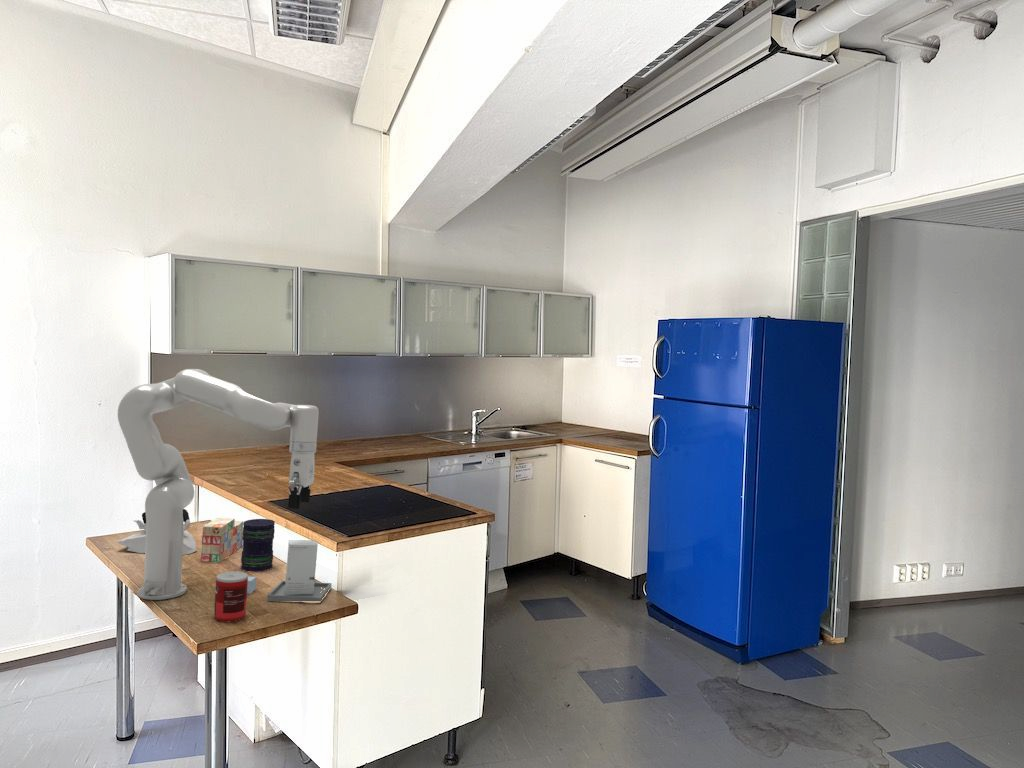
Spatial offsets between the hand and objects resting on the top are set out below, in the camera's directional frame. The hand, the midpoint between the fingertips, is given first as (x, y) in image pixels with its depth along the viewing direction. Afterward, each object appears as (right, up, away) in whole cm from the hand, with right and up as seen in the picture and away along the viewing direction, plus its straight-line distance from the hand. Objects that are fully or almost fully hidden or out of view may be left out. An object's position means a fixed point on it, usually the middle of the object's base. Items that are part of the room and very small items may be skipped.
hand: (299, 504), depth 196 cm
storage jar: (-21, -25, +23) cm, 40 cm away
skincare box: (0, -26, 0) cm, 26 cm away
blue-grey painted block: (-17, -26, 0) cm, 31 cm away
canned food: (-12, -26, -20) cm, 35 cm away
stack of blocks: (-38, -24, +36) cm, 57 cm away
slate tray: (+1, -26, -1) cm, 26 cm away
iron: (-59, -23, +36) cm, 73 cm away
